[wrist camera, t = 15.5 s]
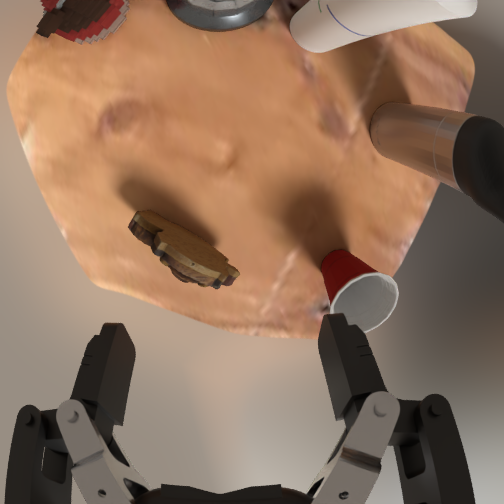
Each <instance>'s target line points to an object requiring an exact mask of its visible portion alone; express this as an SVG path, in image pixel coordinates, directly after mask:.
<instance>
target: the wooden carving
mask: <svg viewBox="0 0 504 504" xmlns="http://www.w3.org/2000/svg"><path fill="white" fill-rule="evenodd" d="M128 228H129V230H130V231H131V232H132V233H133V235H134V236H136V238H137V239H139V240H140V241H142V242H143V243H144V244H147V245H149V246H151V249H152V252H153V253H154V254H155V255H157V256H160V261H161V263H162V264H164V265H165V266H168V267H169V268H170V269H171V271H172V274H173V275H174V276H175V277H176V278H178V279H179V280H180V281H182V282H185V283H188V282H191V283H198V285H199V286H201V287H207V286H211V287H213V288H215V289H219V288H220V286H221V285H225V286H230V285H232V283H233V282H234V280H235V279H236V278H237V277H238V276H239V275H240V273H239V271H238V270H237V269H236V268H235V267H233V266H231V265H230V264H228V263H227V262H228V261H229V260H228V259H227V258H226V257H225V256H224V255H223V254H222V253H220V252H219V251H218V250H216V249H215V248H214V247H212V246H211V245H210V244H208V243H207V242H206V241H204V240H203V239H201V238H200V237H198V236H197V235H195V234H194V233H192V232H190V231H189V230H187V229H185V228H183V227H181V226H179V225H177V224H174V223H172V222H169V221H167V220H166V219H164V218H163V217H161V216H160V215H158V214H157V213H155V212H153V211H151V210H147V211H137V212H136V213H135V215H134V217H133V219H132V220H131V222H130V224H129V226H128Z"/></svg>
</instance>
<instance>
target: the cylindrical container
mask: <svg viewBox="0 0 504 504" xmlns="http://www.w3.org/2000/svg"><path fill="white" fill-rule="evenodd" d="M476 9H477V0H310V1H309V2H308V3H306V4H305V5H304V6H303V7H302V8H301V9H300V10H299V11H298V12H297V13H295V15H294V16H293V17H292V19H291V21H290V32H291V35H292V37H293V39H294V40H295V41H296V43H297V44H298V45H300V46H301V47H302V48H304V49H306V50H308V51H311V52H316V53H323V52H327V51H330V50H332V49H335V48H338V47H341V46H344V45H347V44H349V43H352V42H355V41H359V40H362V39H365V38H368V37H372V36H375V35H378V34H382V33H386V32H389V31H393V30H397V29H401V28H406V27H410V26H415V25H419V24H424V23H430V22H435V21H441V20H448V19H455V18H463V17H469V16H471V15H473V14H474V13H475V11H476Z"/></svg>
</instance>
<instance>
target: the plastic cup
mask: <svg viewBox="0 0 504 504" xmlns="http://www.w3.org/2000/svg"><path fill="white" fill-rule="evenodd" d="M321 270H322V275H323V278H324V283H325V286H326V289H327V293H328V296H329V300H330V306H331V308H330V314H335V313H344V315H345V317H346V319H347V322H348V325H354V324H356V325H357V326H358V327H359V328H360V329H361V330H362V331H363V332H364V333H366V332H368V331H370V330H372V329H374V328H376V327H378V326H379V325H380V324H381V323H383V322H384V321H385V320H386V319H387V318H388V317H389V316H390V314H391V313H392V311H393V310H394V308H395V306H396V303H397V299H398V295H399V293H398V287H397V284H396V283H395V281H394V280H393V279H392V278H391V277H390V276H389V275H386V274H383V273H380V272H378V271H376V270H374V269H373V268H371V267H370V266H369V265H367V264H366V263H364V262H363V261H362V260H360V259H359V258H357V257H355V256H354V255H352V254H351V253H349V252H347V251H344V250H335V251H333V252H331V253H329V254H328V255H327V256H326V257H325V258H324V260H323V262H322V267H321Z"/></svg>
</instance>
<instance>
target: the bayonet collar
mask: <svg viewBox="0 0 504 504" xmlns="http://www.w3.org/2000/svg"><path fill="white" fill-rule="evenodd" d="M272 2H273V0H234V1H223V2H216V1H213V0H167V3H168V6H169V8H170V10H171V11H172V13H173V14H174V15H175V16H176V17H177V18H178V19H179V20H180V21H182V22H183V23H185V24H187V25H189V26H191V27H193V28H196V29H200V30H204V31H211V32H224V31H232V30H236V29H240V28H243V27H245V26H248V25H250V24H252V23H253V22H255V21H257V20H258V19H259V18H260V17H262V16H263V15H264V14H265V13H266V11H267V10H268V8H269V7H270V6H271V4H272Z"/></svg>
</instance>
